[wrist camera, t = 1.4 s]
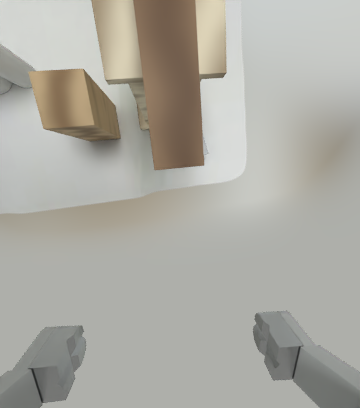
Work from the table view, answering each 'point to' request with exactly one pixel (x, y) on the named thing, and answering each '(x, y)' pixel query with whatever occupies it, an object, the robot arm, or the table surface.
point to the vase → (13, 71)
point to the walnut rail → (171, 80)
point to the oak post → (74, 105)
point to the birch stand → (129, 47)
